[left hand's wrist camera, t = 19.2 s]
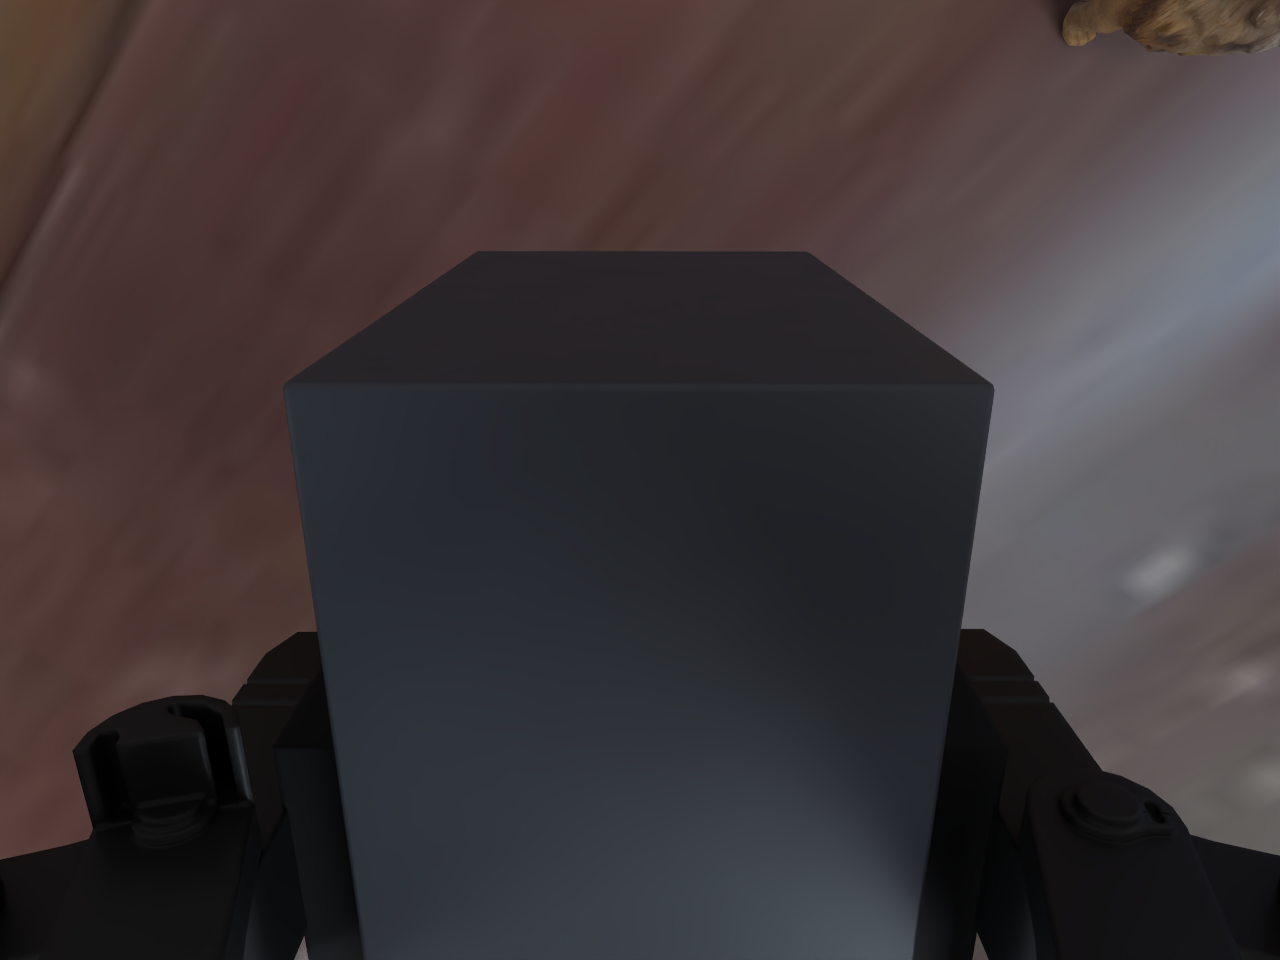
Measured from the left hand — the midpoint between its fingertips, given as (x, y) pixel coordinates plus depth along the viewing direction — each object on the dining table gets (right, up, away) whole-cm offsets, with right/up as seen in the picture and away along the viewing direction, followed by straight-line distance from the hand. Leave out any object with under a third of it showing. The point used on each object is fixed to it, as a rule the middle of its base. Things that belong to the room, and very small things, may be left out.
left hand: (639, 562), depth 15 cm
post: (0, -29, +12) cm, 31 cm away
